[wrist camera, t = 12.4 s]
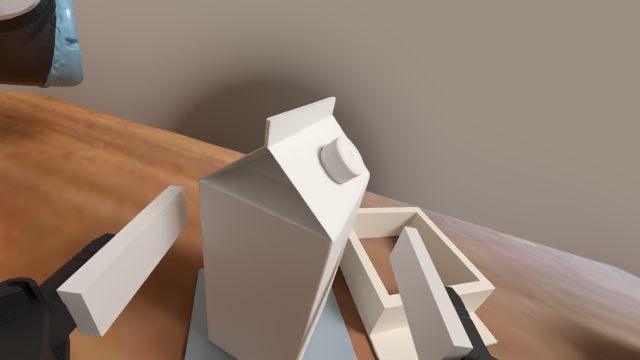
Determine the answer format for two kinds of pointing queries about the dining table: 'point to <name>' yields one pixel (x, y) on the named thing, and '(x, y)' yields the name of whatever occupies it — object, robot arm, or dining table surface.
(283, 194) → the milk carton
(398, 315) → the white tray
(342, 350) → the mat
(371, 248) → the dining table surface
